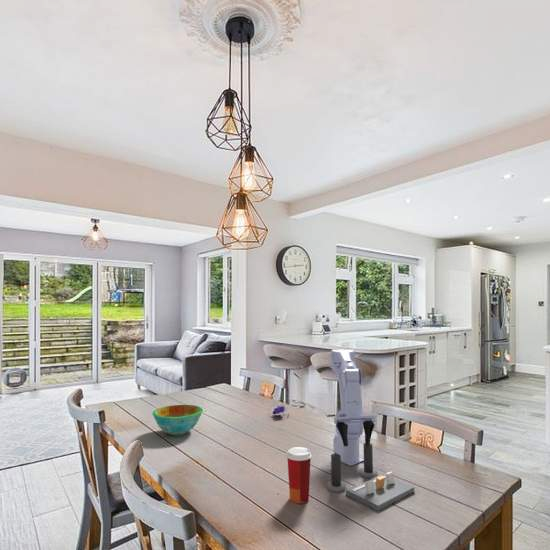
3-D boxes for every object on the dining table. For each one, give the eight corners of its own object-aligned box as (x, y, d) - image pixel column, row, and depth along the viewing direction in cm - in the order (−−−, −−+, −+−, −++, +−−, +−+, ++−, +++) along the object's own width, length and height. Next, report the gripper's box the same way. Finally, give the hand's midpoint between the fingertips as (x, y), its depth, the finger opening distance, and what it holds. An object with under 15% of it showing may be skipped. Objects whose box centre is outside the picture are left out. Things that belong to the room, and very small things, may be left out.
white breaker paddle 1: (366, 493, 117) (364, 482, 117) (371, 490, 118) (370, 480, 119) (369, 494, 116) (367, 483, 117) (374, 491, 117) (373, 480, 118)
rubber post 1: (322, 487, 125) (322, 454, 125) (335, 481, 128) (335, 450, 129) (336, 494, 120) (336, 460, 121) (349, 488, 124) (349, 456, 124)
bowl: (141, 439, 169) (142, 415, 169) (167, 424, 190) (168, 403, 191) (189, 443, 163) (189, 419, 164) (210, 427, 185) (210, 405, 186)
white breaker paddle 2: (386, 483, 123) (385, 473, 124) (391, 481, 125) (390, 471, 125) (389, 484, 122) (388, 474, 123) (394, 482, 124) (393, 471, 124)
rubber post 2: (356, 473, 134) (355, 443, 135) (367, 469, 138) (366, 440, 139) (369, 479, 130) (369, 448, 130) (381, 474, 133) (380, 444, 134)
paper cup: (310, 492, 121) (309, 446, 122) (313, 505, 113) (313, 455, 114) (285, 492, 121) (285, 446, 122) (286, 505, 113) (286, 456, 114)
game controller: (266, 407, 206) (283, 402, 209) (270, 423, 204) (288, 417, 207) (270, 406, 197) (288, 400, 200) (274, 423, 195) (293, 417, 198)
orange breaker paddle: (375, 487, 120) (376, 477, 120) (380, 484, 122) (381, 475, 122) (378, 489, 119) (379, 479, 119) (383, 486, 121) (384, 477, 121)
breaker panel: (345, 494, 120) (345, 488, 120) (382, 478, 130) (382, 473, 131) (378, 511, 110) (377, 504, 110) (414, 492, 121) (414, 486, 121)
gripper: (329, 403, 136) (331, 445, 130) (369, 400, 129) (374, 445, 123) (337, 406, 141) (339, 446, 135) (376, 403, 134) (380, 446, 128)
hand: (356, 446), depth 129 cm, fingers open, 7 cm apart
